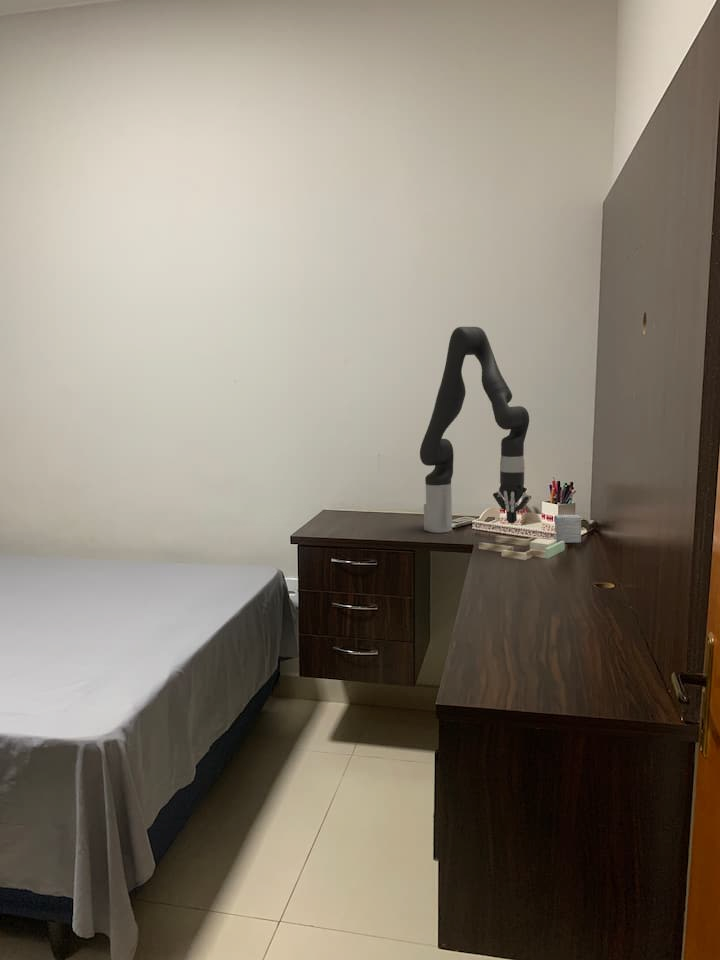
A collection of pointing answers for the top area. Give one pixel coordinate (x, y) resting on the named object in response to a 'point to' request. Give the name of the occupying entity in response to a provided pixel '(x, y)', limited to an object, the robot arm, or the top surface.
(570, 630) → the top surface
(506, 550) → the trap track
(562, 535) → the medicine box
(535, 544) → the ivory block
